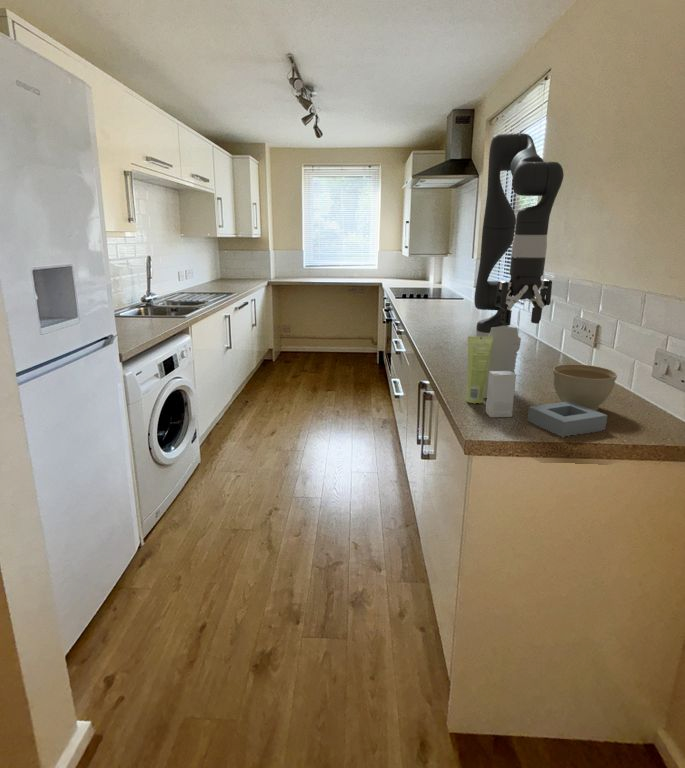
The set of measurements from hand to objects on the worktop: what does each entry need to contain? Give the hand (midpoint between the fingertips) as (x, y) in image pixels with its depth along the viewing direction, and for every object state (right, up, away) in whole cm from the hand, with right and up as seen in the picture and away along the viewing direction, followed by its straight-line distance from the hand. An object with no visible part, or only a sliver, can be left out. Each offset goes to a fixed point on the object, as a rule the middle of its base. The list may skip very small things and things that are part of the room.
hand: (520, 324), depth 119 cm
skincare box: (-1, -23, +15) cm, 27 cm away
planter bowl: (+25, -21, +22) cm, 39 cm away
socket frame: (+14, -25, +7) cm, 30 cm away
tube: (-4, -20, +26) cm, 33 cm away
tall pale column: (+4, -19, +29) cm, 35 cm away
